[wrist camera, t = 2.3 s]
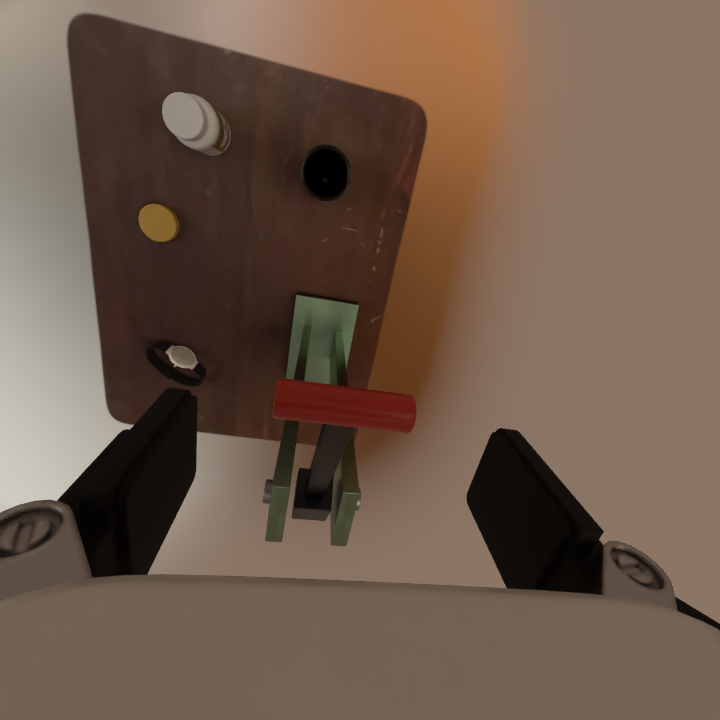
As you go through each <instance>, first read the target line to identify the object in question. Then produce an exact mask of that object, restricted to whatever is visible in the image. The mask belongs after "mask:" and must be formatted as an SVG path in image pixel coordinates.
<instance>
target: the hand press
mask: <svg viewBox="0 0 720 720" xmlns="http://www.w3.org/2000/svg"><path fill="white" fill-rule="evenodd" d="M358 307H359V304H358V302H353V301H347V300H341V299H335V298H330V297H324V296H318V295H312V294H306V293H300V292H297V294H296V301H295V309H294V317H293V325H292V333H291V341H290V349H289V357H288V365H287V373H286V379H293V380H300V381H308V382H315V383H323V384H330V385H338V386H345V387H348V381H347V371H346V368H347V363H348V358H349V353H350V348H351V343H352V338H353V333H354V327H355V322H356V317H357V312H358ZM298 425H299V421H293V420H285V424H284V429H283V434H282V439H281V444H280V449H279V453H278V459H277V463H276V468H275V474H274V479H273V480H269V479H267V480H266V484H265V489H264V495H263V503H268V504H270V507H269V514H268V523H267V531H266V539H265V540H266V541H272V542H282V537H283V531H284V524H285V518H286V511H287V504H288V497H289V491H290V484H291V476H292V469H293V461H294V455H295V446H296V440H297V433H298ZM355 457H356V456H355V447H354V437H353V434H352V436H351V439H350V441H349V443H348V445H347V447H346V449H345V451H344V454H343V456H342V458H341V460H340V462H339V464H338V466H337V469H336V471H335V473H334V479H333V493H332V507H331V545H337V546H346V544H347V541H348V537H349V533H350V529H351V525H352V521H353V517H354V513H355V510H358V509H359V506H360V498H361V491H360V488H359V484H358V476H357V466H356V458H355Z"/></svg>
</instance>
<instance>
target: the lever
mask: <svg viewBox="0 0 720 720" xmlns="http://www.w3.org/2000/svg"><path fill="white" fill-rule="evenodd" d="M273 418H275V419H284V420H293V421H301V422H310V423H319V424H323V425H322V428H321V432H320V435H319V439H318V442H317V446H316V449H315V453H314V457H313V460H312V464H311V467H310V469H304V468H300V469H299V472H298V476H297V481H296V488H295V496H294V504H293V511H292V518H293V519H307V520H320V521H325V520H326V518H327V516H328V515H329V513H330V512H331V507H332V493H333V479H334V473H335V471H336V469H337V466H338V464H339V462H340V460H341V458H342V456H343V454H344V451H345V449H346V447H347V445H348V443H349V441H350V439H351V436H352V434H353V432H354V430H355V428H363V429H371V430H380V431H388V432H397V433H406V434H407V433H410V432H411V431H412V429H413V426H414V423H415V418H416V403H415V399H414V397H413V396H411V395H405V394H398V393H390V392H383V391H375V390H368V389H360V388H353V387H345V386H338V385H330V384H323V383H315V382H308V381H300V380H293V379H285V378H280V379H279V380H278V383H277V387H276V392H275V398H274V405H273Z"/></svg>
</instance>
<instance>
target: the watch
mask: <svg viewBox="0 0 720 720" xmlns="http://www.w3.org/2000/svg"><path fill="white" fill-rule="evenodd" d="M154 348H157V349H160V350H162V351H164V352H166V353H167V354H168V356H169V358H170V360H171V362H172V363H173V364H175V365H174V367H176V366H179V367H181V368H190V369H192V370H194V371H195V372H196V373H197V374H198V375H199V376H200V379H195V378H190V377H187V376H185V375H183V374H181V373H179V372H178V371H176V370H174V369H173V368H172V367H170V366H169V365H168V364H165V363H164V362H163V361H162V360H161V359H160V358H159V357H158V356H157V355H156V353H155V350H154ZM146 356H147V359H148V360H149V362H150V363H151V364H152V365H153V366H154V367H155V368H156V369H157V370H158V371H159V372H161V373H162V375H165V376H166V377H167V378H169V379H173V380H174V381H176V382H178V383H181V384H183V385H187V386H198V385H200V384H201V383H202V381H203V380H204V378H205V376H206V371H205V369H204V368H203V367H202V365H201V364H199V363H198V361H196V356H195V354H194V353H193V352H192V351H191V350H190V349H188V348H187V347H183V346H176V347H175V346H174V345H170V344H168V343H165V342H156V343H154V344H153V345H152V346H150V347H149V348H148V349H147V350H146Z"/></svg>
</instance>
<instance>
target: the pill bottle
mask: <svg viewBox="0 0 720 720" xmlns="http://www.w3.org/2000/svg"><path fill="white" fill-rule="evenodd" d="M162 115H163V119H164V122H165V124H166V126H167V127H168V129H169V130H170V131H171V132H172V133H173V134H174V135H175V136H176V137H177V138H178V140H179V141H180V142H182V143H183V144H184V145H186V146H187V147H189V148H192V149H194V150H197V151H199V152H202V153H204V154H207V155H211V156H216V155H219V154H221V153H223V152H224V151H225V150H226V149H227V148H228V146H229V144H230V140H231V132H230V127H229V125H228V122H227V121H226V119H225V118H224V116H223V115H222V114H221V113H220V112H219V111H218V110H216V109H215V108H214V107H213V106H212V105H211V104H209V103H208V102H207V101H206V100H204V99H203V98H201V97H200V96H197V95H194V94H186V93H183V92H174V93H172V94H170V95H168V96H167V97H166V99H165V100H164V103H163V106H162Z"/></svg>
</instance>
